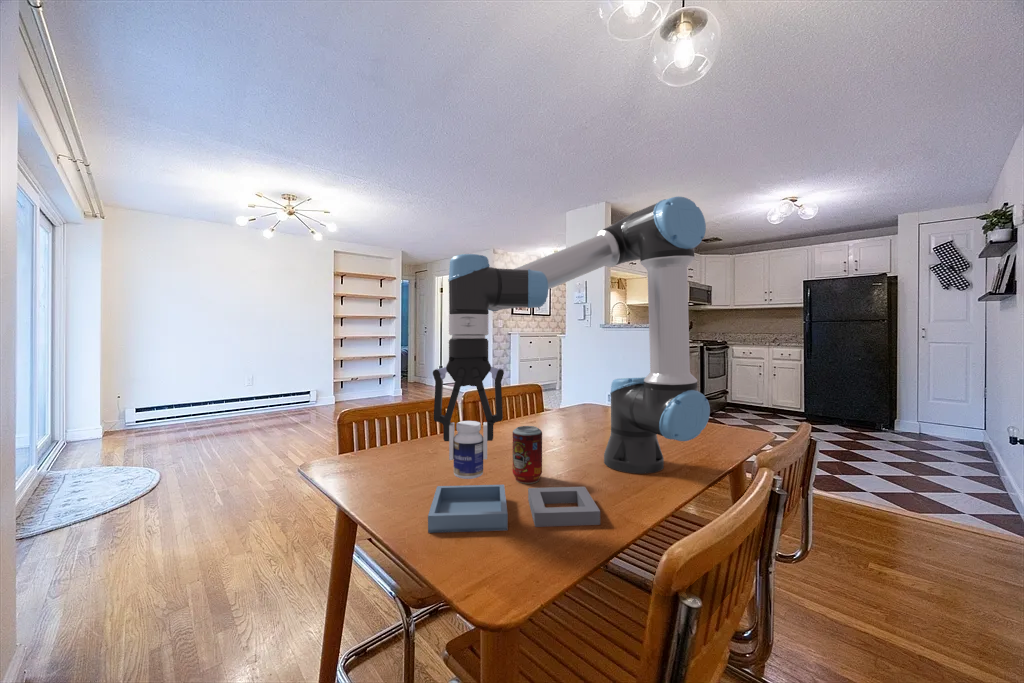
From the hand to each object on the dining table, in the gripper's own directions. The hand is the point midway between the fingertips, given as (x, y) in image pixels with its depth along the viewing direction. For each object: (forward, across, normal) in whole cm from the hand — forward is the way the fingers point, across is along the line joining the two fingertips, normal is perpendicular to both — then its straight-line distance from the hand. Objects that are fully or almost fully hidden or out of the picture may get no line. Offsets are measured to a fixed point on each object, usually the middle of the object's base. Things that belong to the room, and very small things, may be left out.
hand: (468, 457), depth 80 cm
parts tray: (+11, 0, 0) cm, 11 cm away
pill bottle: (+4, 0, 0) cm, 4 cm away
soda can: (+11, +13, +18) cm, 25 cm away
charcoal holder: (+11, +18, 0) cm, 21 cm away
